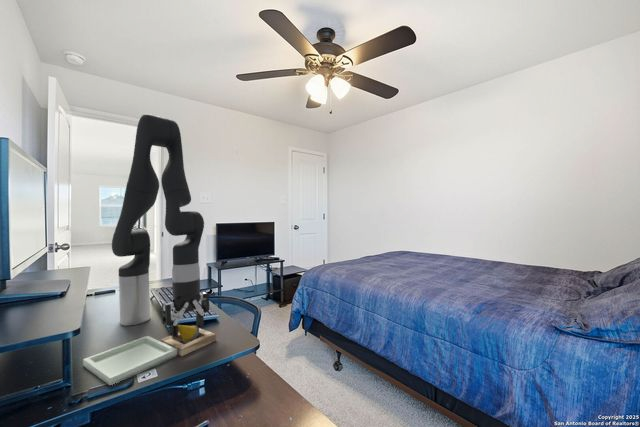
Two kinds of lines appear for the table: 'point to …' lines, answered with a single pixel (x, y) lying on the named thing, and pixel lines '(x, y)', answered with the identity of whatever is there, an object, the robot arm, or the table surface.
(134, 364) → the tray
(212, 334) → the square wooden frame
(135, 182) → the robot arm
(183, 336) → the yellow cone
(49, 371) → the table surface
